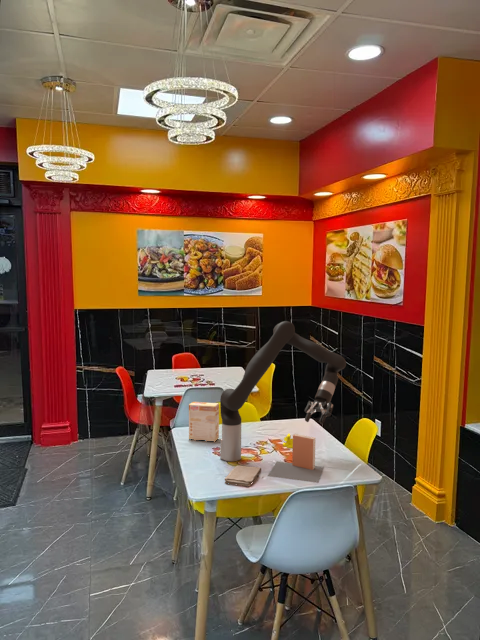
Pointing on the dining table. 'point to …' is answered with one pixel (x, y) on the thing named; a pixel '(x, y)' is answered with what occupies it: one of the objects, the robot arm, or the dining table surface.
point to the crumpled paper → (288, 441)
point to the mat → (296, 472)
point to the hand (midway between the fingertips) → (313, 422)
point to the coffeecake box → (204, 421)
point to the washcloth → (242, 475)
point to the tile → (303, 451)
